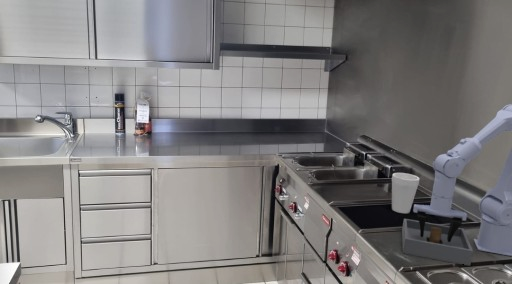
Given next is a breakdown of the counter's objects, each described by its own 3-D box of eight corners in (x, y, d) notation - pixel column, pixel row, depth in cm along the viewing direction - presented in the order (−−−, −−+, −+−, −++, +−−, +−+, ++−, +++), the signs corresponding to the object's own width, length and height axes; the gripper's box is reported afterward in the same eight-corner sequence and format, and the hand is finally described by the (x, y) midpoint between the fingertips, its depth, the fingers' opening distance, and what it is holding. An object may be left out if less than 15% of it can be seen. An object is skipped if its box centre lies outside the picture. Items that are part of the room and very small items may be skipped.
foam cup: (407, 206, 172) (412, 173, 169) (418, 215, 163) (424, 180, 160) (383, 205, 170) (388, 172, 168) (394, 214, 161) (399, 179, 159)
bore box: (461, 242, 142) (463, 228, 141) (470, 266, 126) (473, 251, 125) (401, 231, 146) (403, 218, 145) (402, 253, 130) (405, 238, 129)
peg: (438, 246, 137) (441, 227, 136) (439, 250, 134) (442, 231, 133) (427, 244, 138) (430, 226, 137) (428, 248, 135) (431, 229, 134)
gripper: (467, 195, 134) (459, 237, 137) (416, 187, 138) (409, 228, 141) (470, 202, 128) (462, 246, 131) (417, 194, 132) (410, 237, 134)
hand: (435, 238), depth 135 cm, fingers open, 7 cm apart
